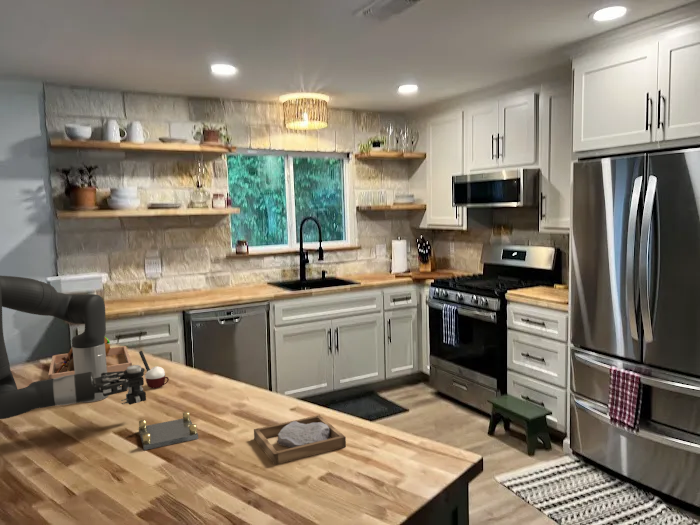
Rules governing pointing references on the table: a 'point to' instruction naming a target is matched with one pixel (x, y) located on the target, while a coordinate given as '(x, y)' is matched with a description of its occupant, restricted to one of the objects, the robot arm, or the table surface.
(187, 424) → the plate
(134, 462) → the table surface
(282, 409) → the table surface
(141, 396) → the push button
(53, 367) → the wooden tray
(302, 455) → the block coaster frame
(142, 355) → the cocoa
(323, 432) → the stone block
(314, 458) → the table surface
